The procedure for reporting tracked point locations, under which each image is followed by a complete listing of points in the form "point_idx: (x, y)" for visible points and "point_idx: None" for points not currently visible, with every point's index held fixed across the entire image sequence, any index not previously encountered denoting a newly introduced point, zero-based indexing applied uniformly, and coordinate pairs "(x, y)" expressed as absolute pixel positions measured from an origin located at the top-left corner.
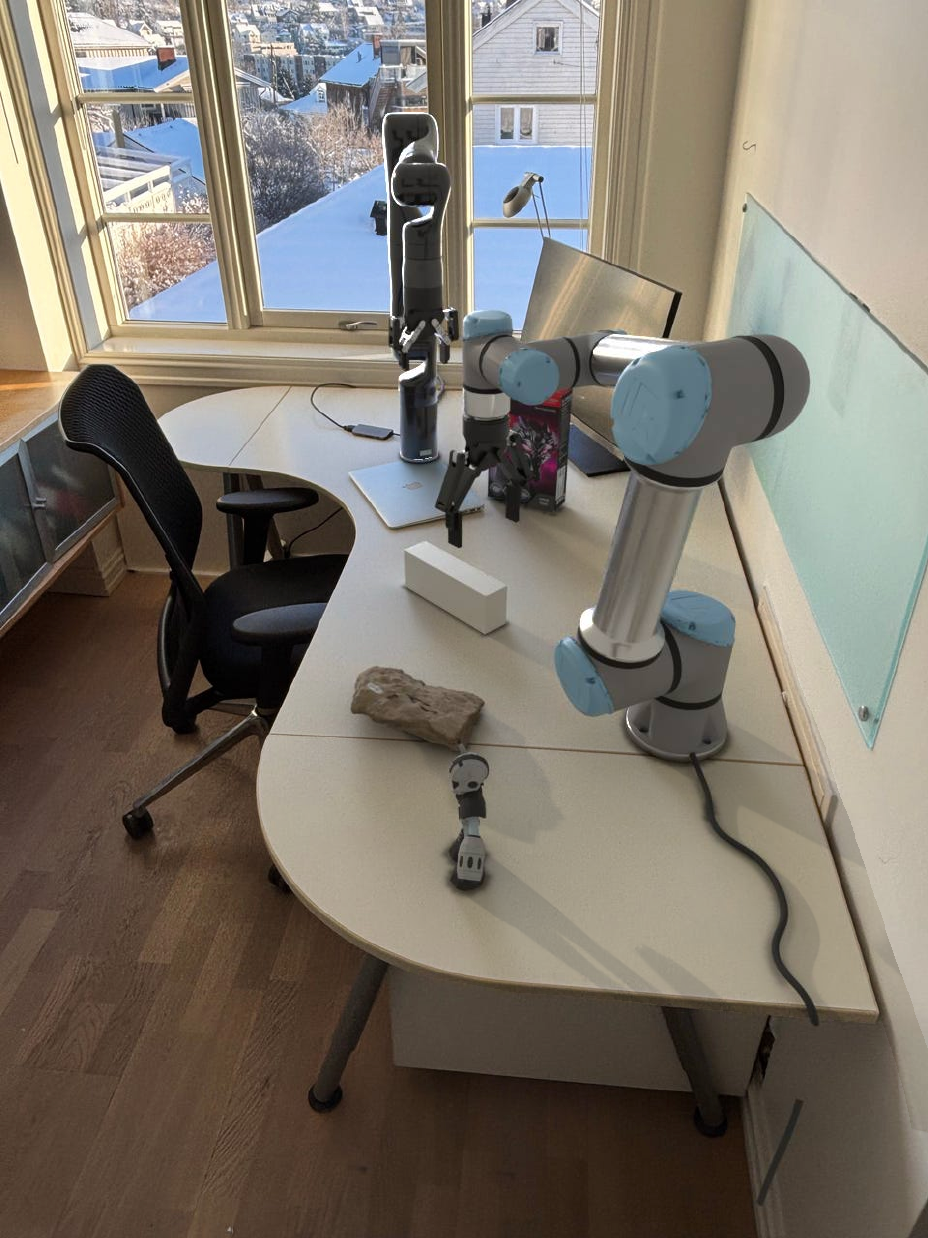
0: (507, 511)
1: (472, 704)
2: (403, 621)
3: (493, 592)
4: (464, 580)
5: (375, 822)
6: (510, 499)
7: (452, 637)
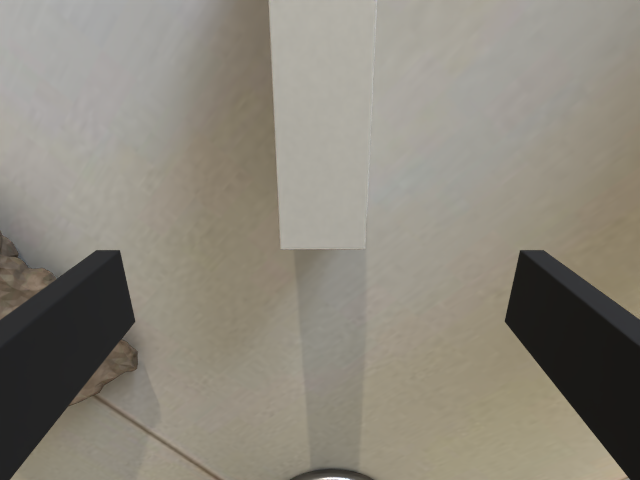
0: (540, 283)
1: (101, 376)
2: (168, 27)
3: (309, 249)
4: (290, 145)
5: None
6: (592, 360)
7: (227, 168)
